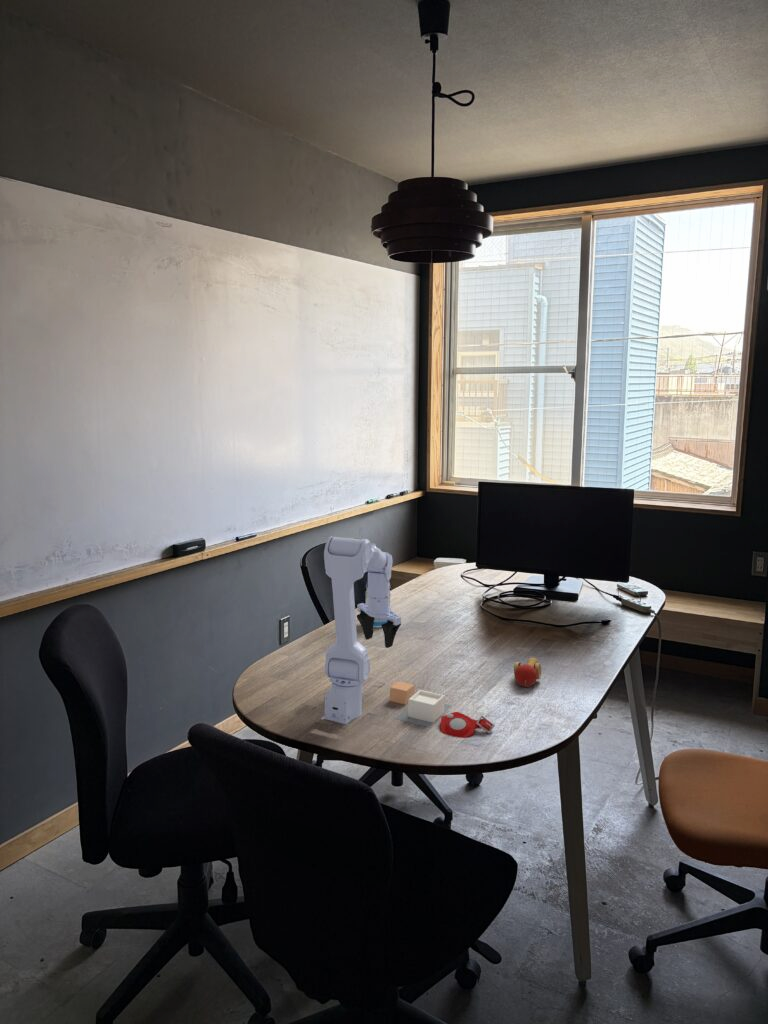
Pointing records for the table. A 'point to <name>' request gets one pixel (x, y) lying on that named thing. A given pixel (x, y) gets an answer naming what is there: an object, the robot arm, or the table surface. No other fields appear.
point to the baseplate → (404, 717)
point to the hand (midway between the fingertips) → (378, 642)
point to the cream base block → (426, 706)
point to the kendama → (527, 672)
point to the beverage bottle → (377, 621)
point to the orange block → (401, 692)
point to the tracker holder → (463, 725)
